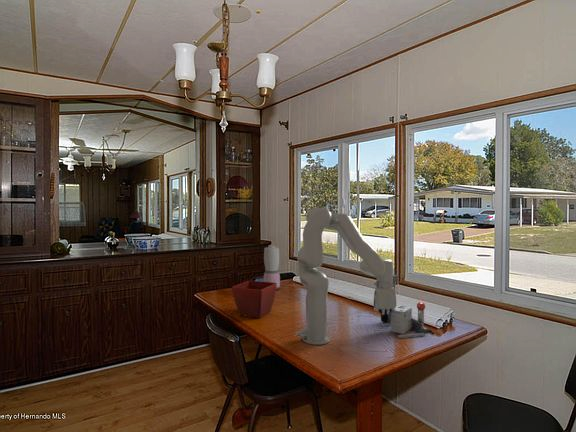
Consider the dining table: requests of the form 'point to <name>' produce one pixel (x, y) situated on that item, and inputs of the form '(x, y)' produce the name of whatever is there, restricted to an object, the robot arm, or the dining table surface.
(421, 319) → the lever
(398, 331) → the light bulb box
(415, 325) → the press frame
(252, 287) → the plant pot
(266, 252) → the blender
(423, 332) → the lever track
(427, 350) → the dining table surface
